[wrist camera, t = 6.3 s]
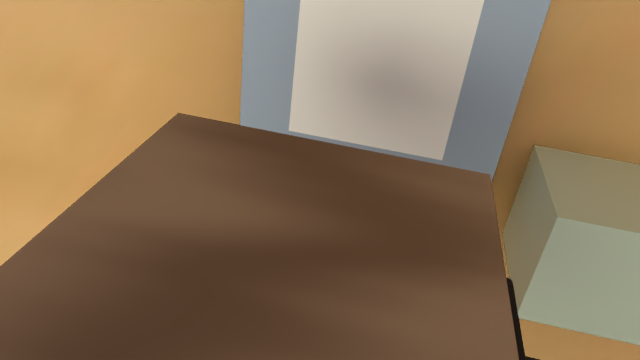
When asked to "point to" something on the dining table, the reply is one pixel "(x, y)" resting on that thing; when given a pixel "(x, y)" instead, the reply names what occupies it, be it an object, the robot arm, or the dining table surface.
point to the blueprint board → (391, 74)
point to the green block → (577, 244)
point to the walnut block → (263, 257)
